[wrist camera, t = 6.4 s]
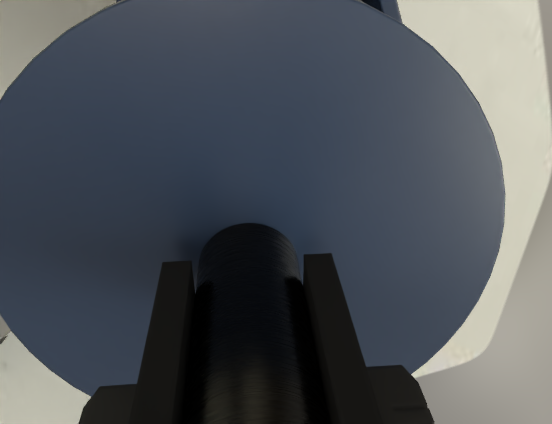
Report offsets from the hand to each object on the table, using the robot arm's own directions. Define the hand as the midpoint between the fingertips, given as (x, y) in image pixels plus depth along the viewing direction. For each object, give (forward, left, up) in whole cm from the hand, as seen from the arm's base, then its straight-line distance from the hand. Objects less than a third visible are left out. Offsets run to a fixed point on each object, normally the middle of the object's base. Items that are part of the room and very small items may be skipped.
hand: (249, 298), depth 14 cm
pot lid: (0, 0, -2) cm, 2 cm away
